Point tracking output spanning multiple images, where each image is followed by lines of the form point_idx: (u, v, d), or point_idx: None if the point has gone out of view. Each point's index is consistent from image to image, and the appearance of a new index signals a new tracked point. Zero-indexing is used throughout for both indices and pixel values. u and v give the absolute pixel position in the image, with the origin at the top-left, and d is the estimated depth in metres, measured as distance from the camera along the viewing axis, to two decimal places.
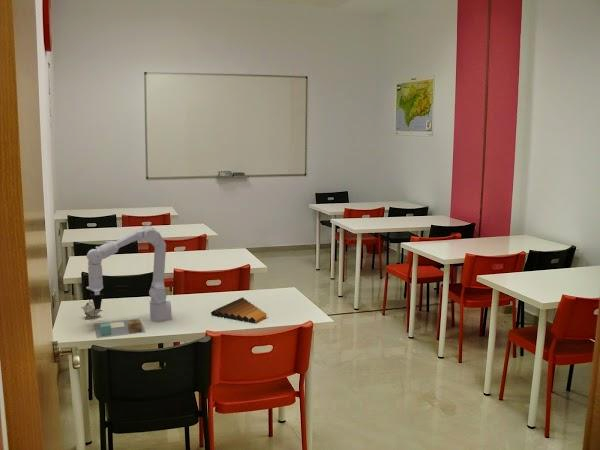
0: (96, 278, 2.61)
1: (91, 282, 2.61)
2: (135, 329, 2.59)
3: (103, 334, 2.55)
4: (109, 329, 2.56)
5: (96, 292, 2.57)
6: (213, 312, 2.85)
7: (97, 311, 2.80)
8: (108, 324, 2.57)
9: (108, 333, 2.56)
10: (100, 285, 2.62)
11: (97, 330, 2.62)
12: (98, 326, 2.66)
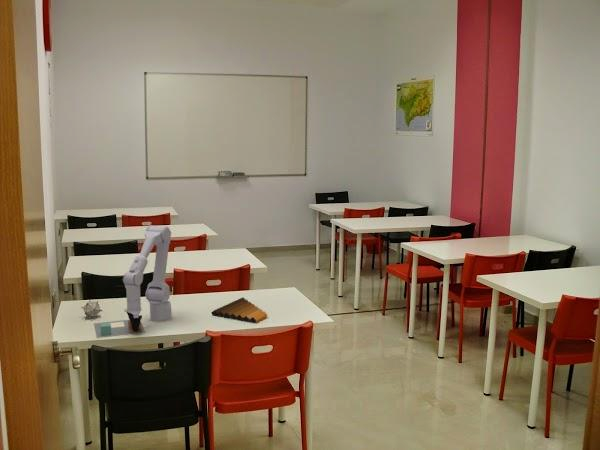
0: (134, 301, 2.57)
1: (129, 304, 2.57)
2: None
3: (103, 334, 2.55)
4: (109, 329, 2.56)
5: (135, 315, 2.54)
6: (214, 312, 2.85)
7: (97, 311, 2.80)
8: (108, 324, 2.57)
9: (108, 333, 2.56)
10: (138, 307, 2.59)
11: (97, 330, 2.62)
12: (98, 326, 2.66)
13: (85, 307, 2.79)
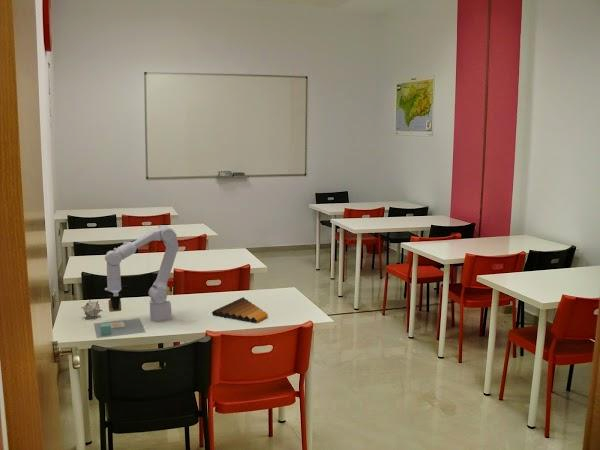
0: (115, 279, 2.63)
1: (110, 283, 2.63)
2: None
3: (103, 334, 2.55)
4: (109, 329, 2.56)
5: (115, 293, 2.59)
6: (214, 312, 2.85)
7: (97, 311, 2.80)
8: (108, 324, 2.57)
9: (108, 333, 2.56)
10: (118, 286, 2.64)
11: (97, 330, 2.62)
12: (98, 326, 2.66)
13: (85, 307, 2.79)
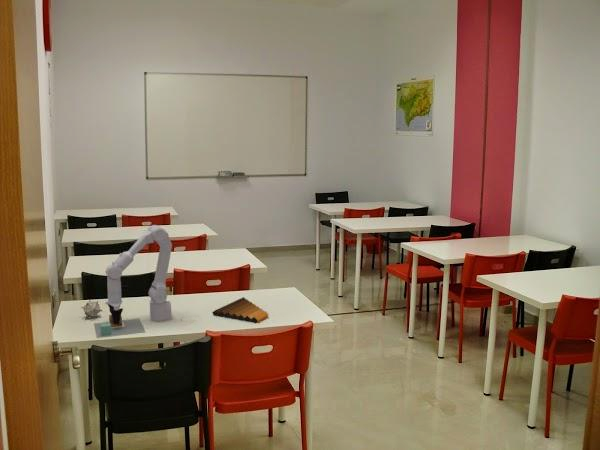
0: (115, 293, 2.64)
1: (110, 297, 2.64)
2: None
3: (103, 334, 2.55)
4: (109, 329, 2.56)
5: (115, 307, 2.60)
6: (215, 312, 2.85)
7: (97, 311, 2.80)
8: (108, 324, 2.57)
9: (108, 333, 2.56)
10: (119, 300, 2.65)
11: (97, 330, 2.62)
12: (98, 326, 2.66)
13: (85, 307, 2.79)
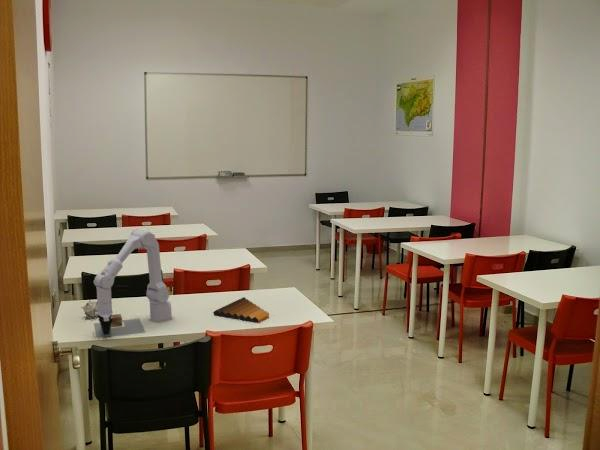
0: (105, 303, 2.53)
1: (100, 307, 2.53)
2: (116, 323, 2.66)
3: (103, 334, 2.55)
4: None
5: (105, 318, 2.49)
6: (215, 312, 2.85)
7: (97, 311, 2.80)
8: None
9: None
10: (109, 310, 2.54)
11: (97, 330, 2.62)
12: (98, 326, 2.66)
13: (85, 307, 2.79)
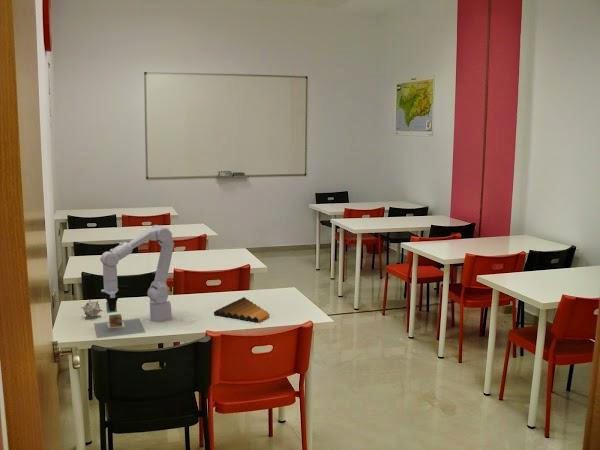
0: (111, 281, 2.59)
1: (106, 285, 2.59)
2: (116, 323, 2.66)
3: (109, 311, 2.61)
4: None
5: (111, 295, 2.55)
6: (216, 312, 2.85)
7: (97, 311, 2.80)
8: None
9: None
10: (115, 288, 2.60)
11: (97, 330, 2.62)
12: (98, 326, 2.66)
13: (85, 307, 2.79)
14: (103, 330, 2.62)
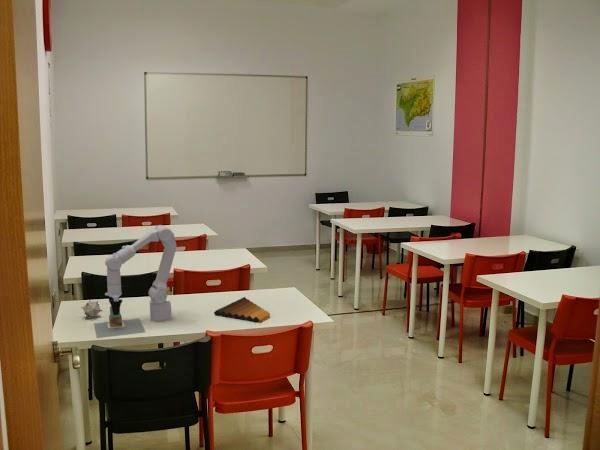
0: (115, 284, 2.63)
1: (110, 288, 2.63)
2: (116, 323, 2.66)
3: (112, 316, 2.65)
4: None
5: (115, 298, 2.59)
6: (216, 312, 2.85)
7: (97, 311, 2.80)
8: None
9: (117, 315, 2.66)
10: (119, 291, 2.65)
11: (97, 330, 2.62)
12: (98, 326, 2.66)
13: (85, 307, 2.79)
14: (103, 330, 2.62)
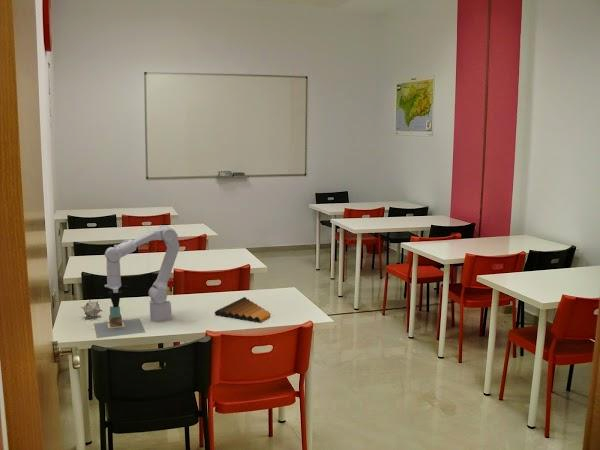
0: (114, 276, 2.62)
1: (109, 280, 2.62)
2: (116, 323, 2.66)
3: (112, 316, 2.65)
4: (118, 312, 2.66)
5: (115, 290, 2.59)
6: (217, 312, 2.85)
7: (97, 311, 2.80)
8: (117, 307, 2.68)
9: (117, 315, 2.66)
10: (118, 283, 2.64)
11: (97, 330, 2.62)
12: (98, 326, 2.66)
13: (85, 307, 2.79)
14: (103, 330, 2.62)
